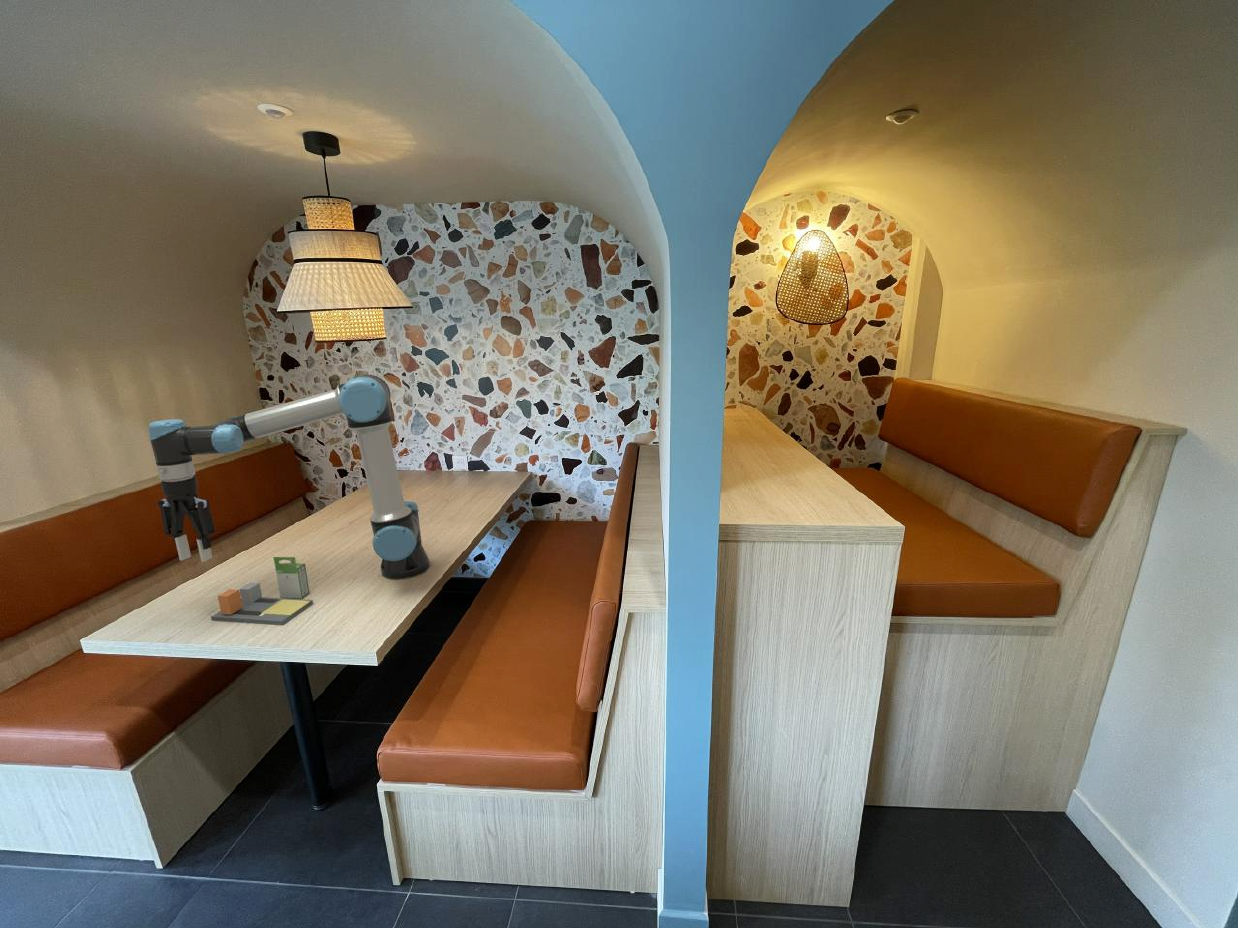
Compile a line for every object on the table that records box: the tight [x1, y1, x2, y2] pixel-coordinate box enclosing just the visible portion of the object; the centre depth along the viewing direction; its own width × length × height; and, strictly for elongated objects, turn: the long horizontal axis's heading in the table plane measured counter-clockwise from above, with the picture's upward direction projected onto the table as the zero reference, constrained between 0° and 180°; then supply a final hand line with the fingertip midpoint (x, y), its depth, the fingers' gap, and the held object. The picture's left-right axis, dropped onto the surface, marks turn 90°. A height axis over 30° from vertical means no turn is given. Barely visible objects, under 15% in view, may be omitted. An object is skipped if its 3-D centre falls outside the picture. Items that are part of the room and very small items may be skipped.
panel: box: [210, 582, 314, 626], centre depth 154 cm, size 12×22×6 cm, turn 81°
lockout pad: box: [261, 599, 310, 616], centre depth 154 cm, size 8×9×1 cm
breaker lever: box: [217, 588, 243, 615], centre depth 152 cm, size 4×3×6 cm
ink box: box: [273, 556, 310, 599], centre depth 162 cm, size 7×4×13 cm, turn 84°
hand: (196, 558), depth 150 cm, fingers open, 6 cm apart
